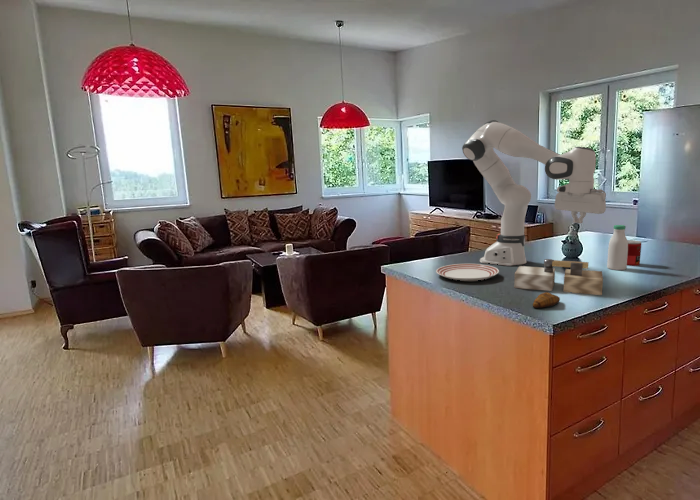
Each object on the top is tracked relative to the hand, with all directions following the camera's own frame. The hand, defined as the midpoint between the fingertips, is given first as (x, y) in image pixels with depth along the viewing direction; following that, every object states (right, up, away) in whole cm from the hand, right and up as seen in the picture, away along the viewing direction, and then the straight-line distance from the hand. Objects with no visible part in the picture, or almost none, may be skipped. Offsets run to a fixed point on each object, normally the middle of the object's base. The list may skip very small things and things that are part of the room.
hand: (577, 222), depth 183 cm
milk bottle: (+31, -20, +25) cm, 44 cm away
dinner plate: (-39, -23, +21) cm, 50 cm away
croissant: (-23, -31, -23) cm, 45 cm away
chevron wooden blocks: (-8, -26, -1) cm, 27 cm away
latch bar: (-7, -18, -4) cm, 19 cm away
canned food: (+41, -18, +33) cm, 56 cm away
